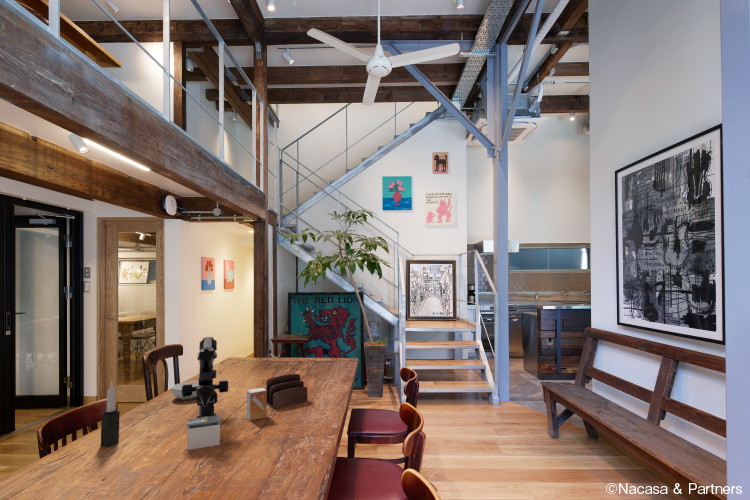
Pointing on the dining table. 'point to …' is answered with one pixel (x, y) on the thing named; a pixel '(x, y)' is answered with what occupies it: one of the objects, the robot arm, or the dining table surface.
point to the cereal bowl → (178, 390)
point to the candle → (110, 421)
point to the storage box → (203, 435)
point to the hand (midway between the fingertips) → (205, 406)
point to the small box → (256, 403)
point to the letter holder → (285, 391)
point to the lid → (204, 420)
